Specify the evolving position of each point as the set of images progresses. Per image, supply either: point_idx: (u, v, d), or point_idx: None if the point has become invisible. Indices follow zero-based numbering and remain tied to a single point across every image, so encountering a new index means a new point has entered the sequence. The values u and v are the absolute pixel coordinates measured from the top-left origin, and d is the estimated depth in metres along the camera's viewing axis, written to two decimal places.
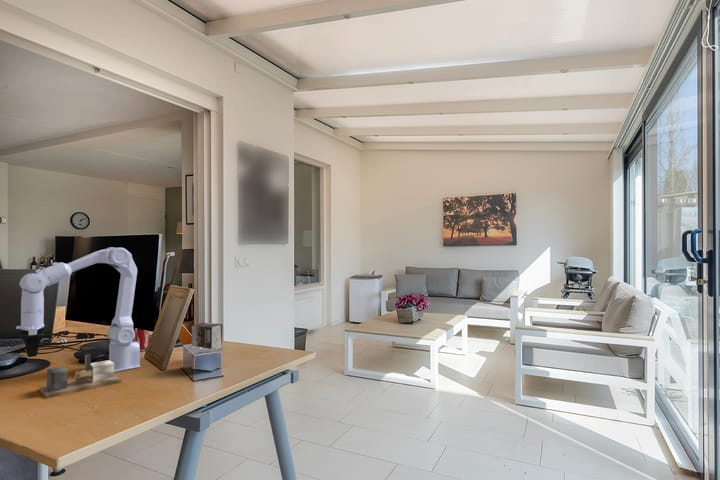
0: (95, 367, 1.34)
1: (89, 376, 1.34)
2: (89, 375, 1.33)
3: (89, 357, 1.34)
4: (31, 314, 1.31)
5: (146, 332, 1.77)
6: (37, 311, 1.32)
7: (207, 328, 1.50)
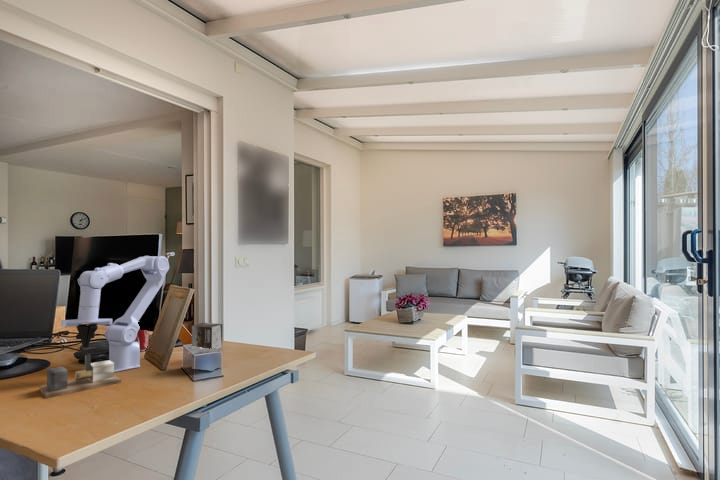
0: (95, 367, 1.34)
1: (89, 376, 1.34)
2: (89, 375, 1.33)
3: (89, 357, 1.34)
4: (79, 308, 1.40)
5: (146, 332, 1.77)
6: (81, 306, 1.39)
7: (207, 328, 1.50)
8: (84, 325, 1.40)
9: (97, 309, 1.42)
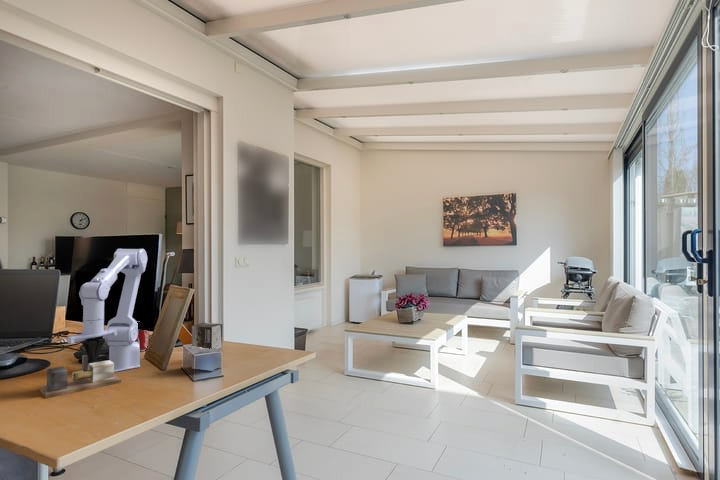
0: (95, 367, 1.34)
1: (86, 377, 1.33)
2: (86, 375, 1.33)
3: (86, 357, 1.34)
4: (83, 322, 1.33)
5: (146, 332, 1.77)
6: (87, 320, 1.33)
7: (207, 328, 1.50)
8: (91, 339, 1.34)
9: (103, 321, 1.37)
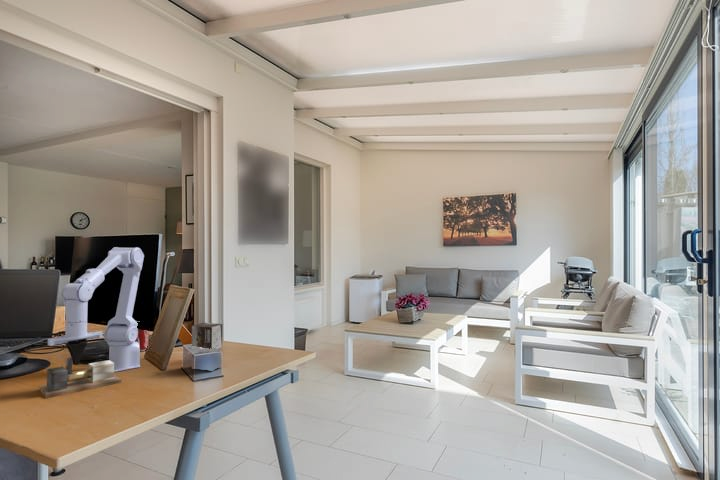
0: (95, 367, 1.34)
1: (70, 380, 1.30)
2: (70, 378, 1.30)
3: (70, 360, 1.30)
4: None
5: (146, 332, 1.77)
6: (68, 322, 1.29)
7: (207, 328, 1.50)
8: (73, 341, 1.31)
9: (86, 323, 1.33)
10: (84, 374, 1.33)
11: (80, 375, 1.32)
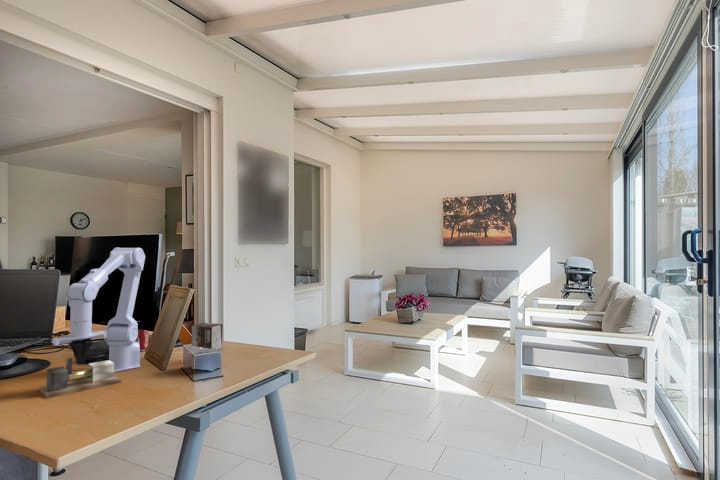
0: (95, 367, 1.34)
1: (70, 380, 1.30)
2: (70, 378, 1.30)
3: (70, 360, 1.30)
4: (70, 324, 1.31)
5: (146, 332, 1.77)
6: (73, 322, 1.30)
7: (207, 328, 1.50)
8: (78, 341, 1.32)
9: (90, 323, 1.34)
10: (84, 374, 1.33)
11: (80, 375, 1.32)
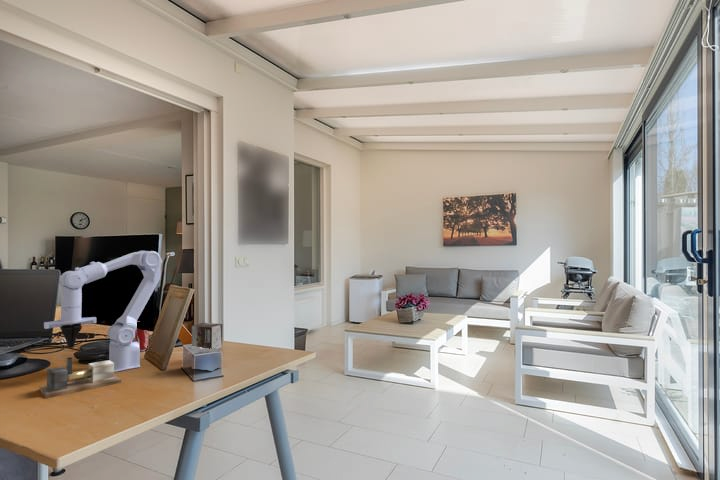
0: (95, 367, 1.34)
1: (70, 380, 1.30)
2: (70, 378, 1.30)
3: (70, 360, 1.30)
4: (61, 309, 1.39)
5: (146, 332, 1.77)
6: (63, 307, 1.38)
7: (207, 328, 1.50)
8: (68, 326, 1.39)
9: (80, 309, 1.41)
10: (84, 374, 1.33)
11: (80, 375, 1.32)
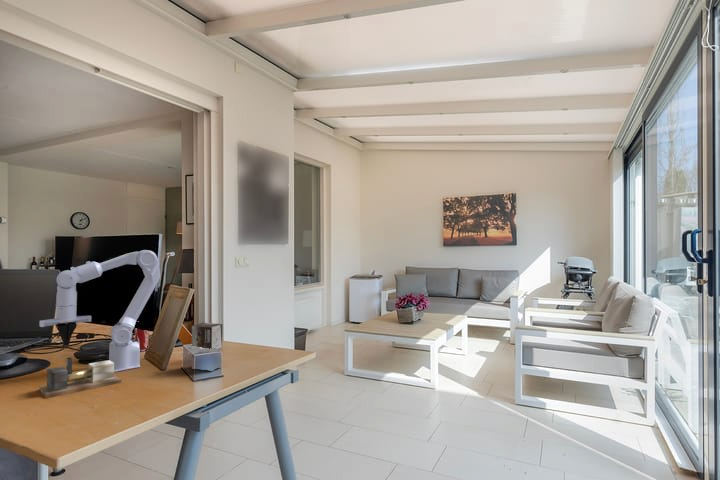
0: (95, 367, 1.34)
1: (70, 380, 1.30)
2: (70, 378, 1.30)
3: (70, 360, 1.30)
4: (56, 307, 1.42)
5: (146, 332, 1.77)
6: (58, 306, 1.41)
7: (207, 328, 1.50)
8: (63, 324, 1.42)
9: (75, 308, 1.44)
10: (84, 374, 1.33)
11: (80, 375, 1.32)
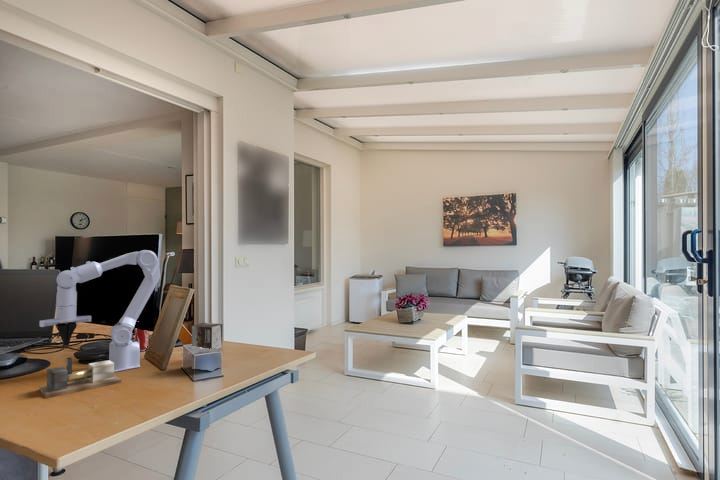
0: (95, 367, 1.34)
1: (70, 380, 1.30)
2: (70, 378, 1.30)
3: (70, 360, 1.30)
4: (56, 307, 1.42)
5: (146, 332, 1.77)
6: (58, 306, 1.41)
7: (207, 328, 1.50)
8: (63, 324, 1.42)
9: (75, 308, 1.44)
10: (84, 374, 1.33)
11: (80, 375, 1.32)
